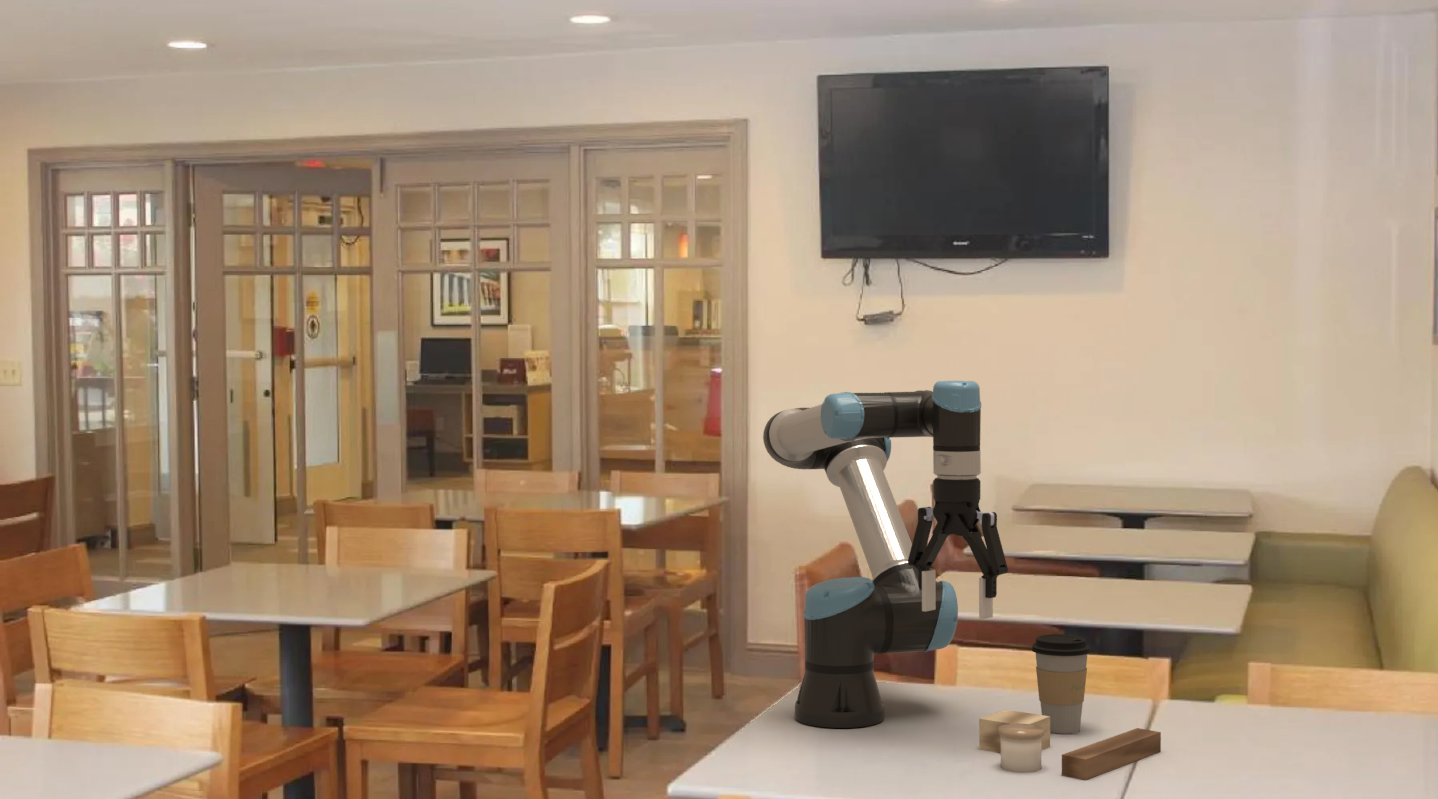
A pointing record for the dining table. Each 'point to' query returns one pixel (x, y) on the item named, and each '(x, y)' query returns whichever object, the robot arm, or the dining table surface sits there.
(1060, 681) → the coffee cup
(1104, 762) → the board
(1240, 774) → the dining table surface
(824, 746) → the dining table surface
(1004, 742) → the sugar pot
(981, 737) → the block
